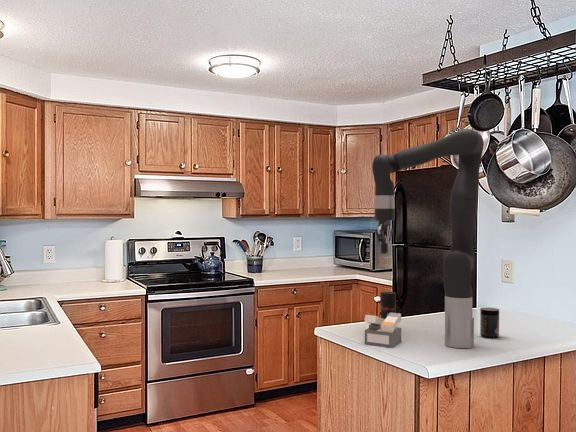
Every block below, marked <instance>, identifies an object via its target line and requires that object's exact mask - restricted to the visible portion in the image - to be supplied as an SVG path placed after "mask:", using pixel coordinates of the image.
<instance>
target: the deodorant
mask: <svg viewBox="0 0 576 432" xmlns="http://www.w3.org/2000/svg"><path fill="white" fill-rule="evenodd" d="M390 313H397V292H395V291H380V318H383V319H386V318H387V316H388V315H389V314H390Z"/></svg>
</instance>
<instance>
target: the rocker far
mask: <svg viewBox="0 0 576 432" xmlns="http://www.w3.org/2000/svg"><path fill="white" fill-rule="evenodd" d="M384 320H385V319H383V318H381V316H380V317H379V316H377V315H374V314H373V315H372V314H365V315H364V322H365V323H367V324H369V325H370V324H375V325H381V324H382V323H383V321H384Z"/></svg>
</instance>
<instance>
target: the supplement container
mask: <svg viewBox="0 0 576 432" xmlns="http://www.w3.org/2000/svg"><path fill="white" fill-rule="evenodd" d="M479 311H480V312H479V314H480V321H479V324H480V327H479V329H480V330H479V332H480V333H479V335H480V336H481V338H484V339H490V340H495V339H498V338H499V337H500V308H497V307H480V308H479Z"/></svg>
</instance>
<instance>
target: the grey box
mask: <svg viewBox="0 0 576 432" xmlns="http://www.w3.org/2000/svg"><path fill="white" fill-rule="evenodd" d="M401 342H402V327H398V326H397V327H396V328H395V330H394V331H393V333H389V332H381V325H375V324H370V323H369V324H368V328H366V329H364V345H369V346H375V347H376V346H377V347H382V348H383V347H384V348H390V349H392V348H393V347H395V346H397V345H399V344H400V343H401Z"/></svg>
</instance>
